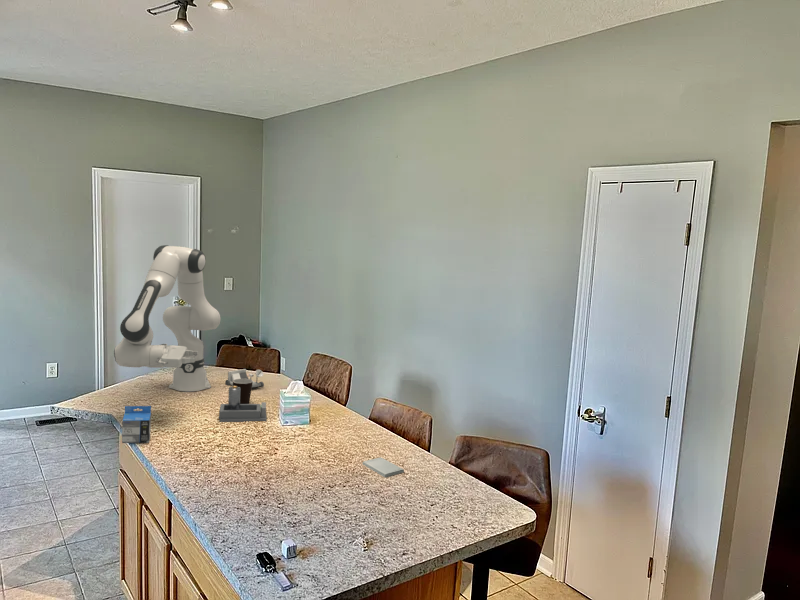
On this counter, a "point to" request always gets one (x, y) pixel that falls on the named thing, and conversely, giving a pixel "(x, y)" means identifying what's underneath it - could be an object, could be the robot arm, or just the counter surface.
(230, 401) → the cell
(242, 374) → the toy lunar rover
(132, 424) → the label tape cartridge
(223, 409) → the cradle
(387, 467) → the hard drive
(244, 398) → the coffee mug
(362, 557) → the counter surface
